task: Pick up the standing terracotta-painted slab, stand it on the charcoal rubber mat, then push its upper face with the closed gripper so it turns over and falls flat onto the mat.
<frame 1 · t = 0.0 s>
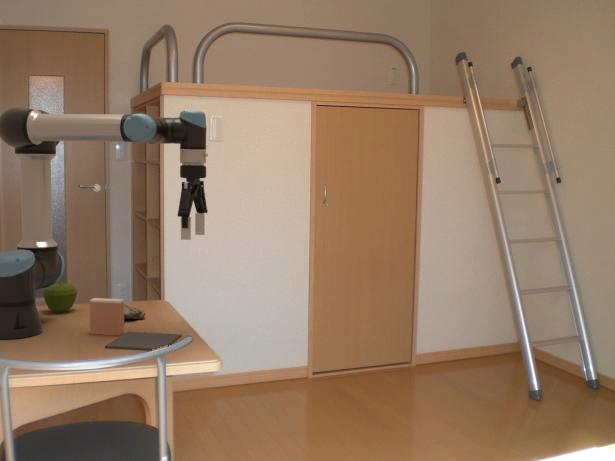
hand: (193, 237, 204), 28 cm above the table, fingers open, 13 cm apart
apple: (60, 312, 229), on the table
mat: (144, 341, 193), on the table
rock: (126, 320, 221), on the table
slab: (107, 333, 202), on the table
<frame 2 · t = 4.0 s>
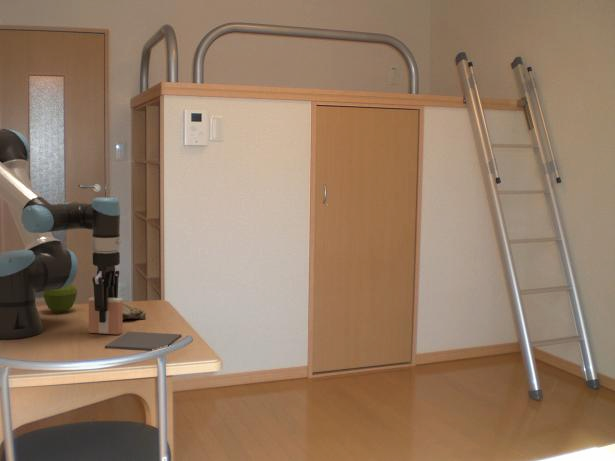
hand: (106, 331, 202), 1 cm above the table, fingers closed on slab, 3 cm apart
slab: (105, 332, 202), on the table, touching gripper
everything else where it was.
when the fingers open (1 cm above the table, at t = 8.3 s): slab stays where it is, resting on mat.
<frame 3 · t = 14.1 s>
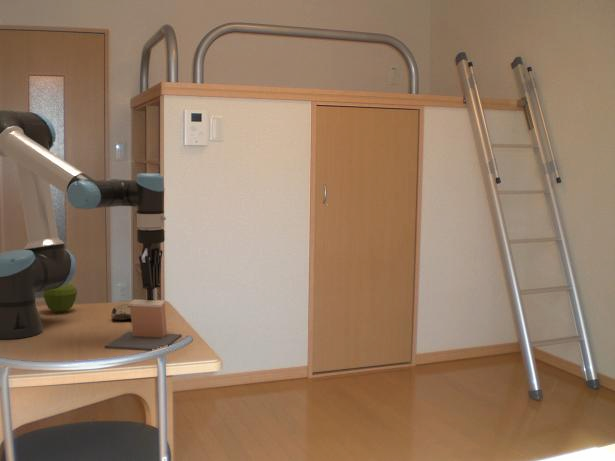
hand: (151, 310, 198), 8 cm above the table, fingers closed
slab: (150, 334, 198), point 1 cm above the table, tilted 13°, touching gripper, mat
everything else where it was.
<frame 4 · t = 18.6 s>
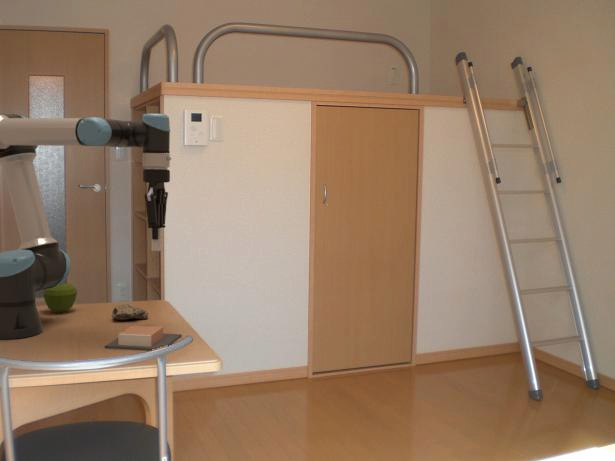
hand: (156, 250, 200), 24 cm above the table, fingers closed
slab: (148, 331, 196), point 2 cm above the table, tilted 90°, touching mat
everything else where it was.
at the end: slab tilted 90°; slab inside the target area (4.4 cm from its centre), point 2.1 cm above the table; the gripper is holding nothing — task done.
